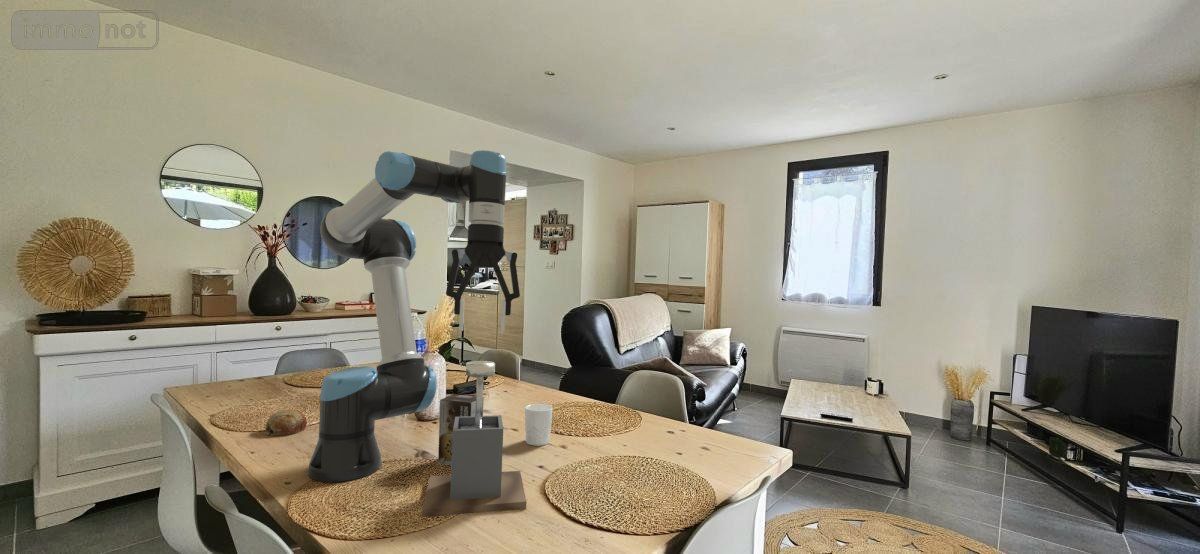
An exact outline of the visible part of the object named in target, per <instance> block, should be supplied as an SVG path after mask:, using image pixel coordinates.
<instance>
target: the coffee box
mask: <svg viewBox="0 0 1200 554" xmlns="http://www.w3.org/2000/svg"><path fill="white" fill-rule="evenodd" d="M484 398H485V397H484V396H483V399H484ZM475 413H476V396H475V395H467V394H457V393H456V394H455V393H453V394H451V395H450V394H449V395H448V396H446V397H443V398H442V399H440V400H439V420H438V421H439V423H438V424H439V425H438V427H439V428H438V454H437V455H438V459H437V464H439V465H445V466H451V463H452V438H453V427H454V421H455V417H463V416H475ZM482 416H484V405H483V406H482Z"/></svg>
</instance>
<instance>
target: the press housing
mask: <svg viewBox="0 0 1200 554" xmlns="http://www.w3.org/2000/svg"><path fill="white" fill-rule="evenodd" d="M470 425H475V416H463V417H455V421H454V427H453V438H452V463H451V465H450V466H451V467H450V475H451V488H450V501H451V500H465V499H478V498H492V497H501V477H502V472H503V471H502V470H503V446H504V423H503V419H502V415H501V414H500V415H498V414H497V415H495V414H494V415H483V416H482V425H496V428H477V429H460V426H470Z"/></svg>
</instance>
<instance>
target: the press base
mask: <svg viewBox="0 0 1200 554" xmlns="http://www.w3.org/2000/svg"><path fill="white" fill-rule="evenodd" d="M427 484H428V485H427V488H426V492H425V496H424V500H423V505H422V508H421V518H430V517H431V518H433V517H442V516H456V515H458V516H459V515H467V514H468V515H470V514H478V513H479V514H480V513H493V512H495V513H496V512H507V511H517V510H527V497H526V492H525V488H524V483H523V479H522V474H521V470H512V471H511V470H510V471H502V477H501V497H492V498H478V499H465V500H451V501H450V488H451V474H447V475H430V477H429V480H428V483H427Z"/></svg>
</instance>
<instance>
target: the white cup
mask: <svg viewBox="0 0 1200 554" xmlns="http://www.w3.org/2000/svg"><path fill="white" fill-rule="evenodd" d="M552 417H553V406H552V405H550V404H546V403H545V404H544V403H534V404H533V403H532V404H528V405H526V406H524V422H525V423H524V426H525V427H524V428H525V431H524V432H525V443H526V444H527V445H530V446H534V447H535V446H537V447H539V446H546V445H548V444H549V443H550V437H551V430H552V420H553V418H552Z"/></svg>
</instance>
